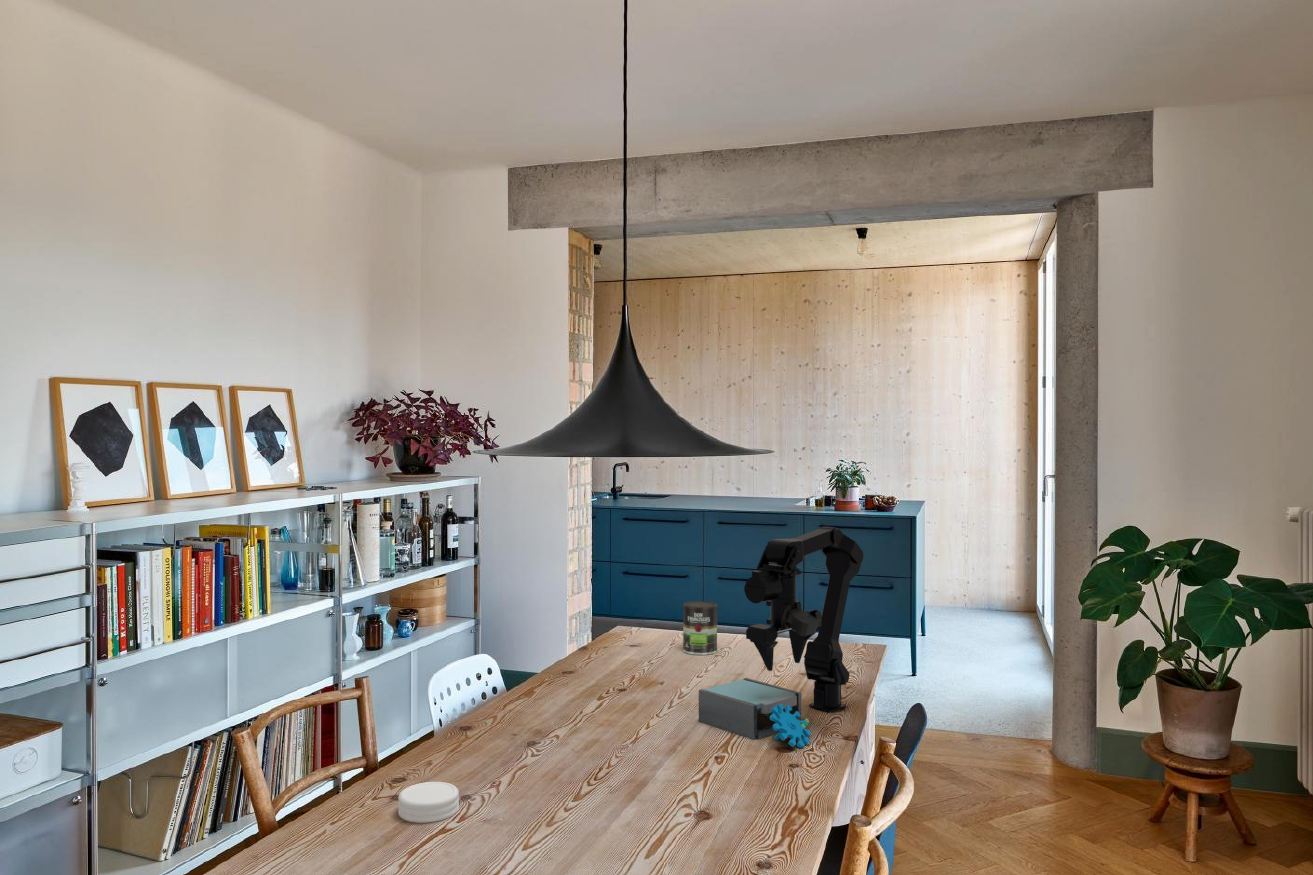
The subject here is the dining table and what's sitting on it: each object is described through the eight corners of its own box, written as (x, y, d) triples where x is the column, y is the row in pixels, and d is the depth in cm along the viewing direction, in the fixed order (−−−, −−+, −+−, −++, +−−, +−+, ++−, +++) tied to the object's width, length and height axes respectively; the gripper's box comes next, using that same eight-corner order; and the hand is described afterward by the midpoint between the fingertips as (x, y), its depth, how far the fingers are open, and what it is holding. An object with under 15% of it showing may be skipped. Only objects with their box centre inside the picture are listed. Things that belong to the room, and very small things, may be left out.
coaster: (402, 828, 148) (402, 807, 148) (394, 805, 157) (394, 785, 157) (464, 818, 152) (464, 797, 152) (452, 796, 161) (452, 777, 161)
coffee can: (715, 656, 265) (715, 607, 265) (680, 654, 267) (680, 606, 267) (719, 647, 275) (719, 601, 275) (685, 646, 277) (685, 600, 277)
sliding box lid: (742, 687, 214) (742, 679, 214) (801, 703, 201) (801, 694, 201) (703, 698, 205) (703, 689, 205) (761, 715, 192) (761, 705, 192)
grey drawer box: (746, 707, 214) (746, 677, 214) (803, 724, 202) (803, 692, 202) (698, 721, 204) (698, 689, 204) (755, 740, 191) (755, 706, 191)
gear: (788, 746, 183) (766, 702, 189) (771, 762, 185) (749, 718, 191) (823, 742, 190) (800, 700, 196) (806, 757, 193) (783, 715, 199)
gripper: (782, 607, 190) (783, 682, 190) (838, 595, 202) (839, 666, 202) (743, 600, 198) (744, 671, 199) (799, 589, 211) (800, 656, 211)
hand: (783, 666), depth 202 cm, fingers open, 9 cm apart
